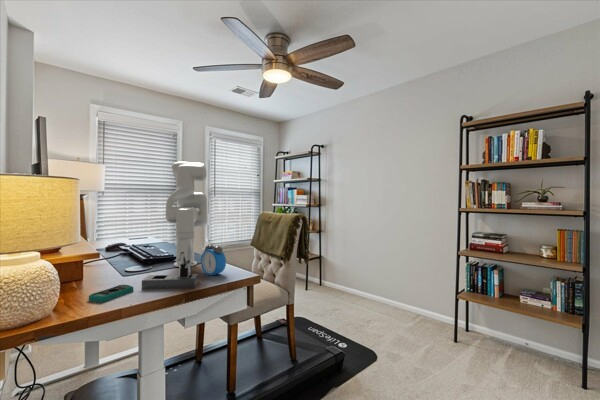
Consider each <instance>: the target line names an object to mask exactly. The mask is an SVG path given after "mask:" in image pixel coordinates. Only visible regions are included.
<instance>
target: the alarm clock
mask: <svg viewBox="0 0 600 400" xmlns="http://www.w3.org/2000/svg"><path fill="white" fill-rule="evenodd" d="M223 251H224V250H223V248H222V247H221V246H220V245H219V246H218V245H217V246H214V245H213V244H208V245H206V246H205V248H204V251H203V252H202V255H201V258H200V264H201V268H202V270H203V272H204V273H205V275H208V276H214V277H215V276H216V275H217V274H218V275H219V274H220V273H222V272H224V270H225V268H226V265H227V259H226V255H225V253H224V252H223Z"/></svg>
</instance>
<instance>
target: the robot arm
mask: <svg viewBox="0 0 600 400" xmlns="http://www.w3.org/2000/svg"><path fill="white" fill-rule="evenodd" d="M172 173H173V176H174V178H175V181H176V188H175V190H174V191H173V192H172V193H171V194H170V195H169V196H168V198H167V200H166V204H165V220H166V221H167V223H170V224H175V227H176V229H175V231H176V232H175V235H176V257H175V259H176V260H175V261H176V262H174V263H173V267H175V268H179V264H180V277H187V276H188V268H187V262H191V267H194V266H197V264H198V262H197V260H195V228H199V227H201V228H202V227H205V226H206V225H207V223H208V199H207V198H208V197H207V195H206V193H204V192H196V191H195V182H203V181H205V180H206V179H207V167H206V165H205V164H204V163H203V162H191V161H190V162H189V161H177V162H174V163H173V164H172ZM176 202H177V205H178V206H173V205H174V203H176Z"/></svg>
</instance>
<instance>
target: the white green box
mask: <svg viewBox="0 0 600 400" xmlns="http://www.w3.org/2000/svg"><path fill="white" fill-rule="evenodd" d="M178 268H179V269H178V270H179V271H178V272H179V273H178V274H179V278H190V277H191V274H192V273H191V268H192V266H191V262H187V268H188V276H187V277H180V264H179V267H178Z"/></svg>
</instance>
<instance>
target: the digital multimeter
mask: <svg viewBox="0 0 600 400" xmlns="http://www.w3.org/2000/svg"><path fill="white" fill-rule="evenodd" d="M133 292H134V286H132V285H129V284H119V285H115V286H112V287H110V288H106V289H103V290H100V291H97V292H94V293H91V294H90V295H88V301H89V302H93V303H101V304H103V303H106V302H109V301H111V300H114V299H116V298H119V297H122V296H125V295H126V294H130V293H133Z"/></svg>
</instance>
